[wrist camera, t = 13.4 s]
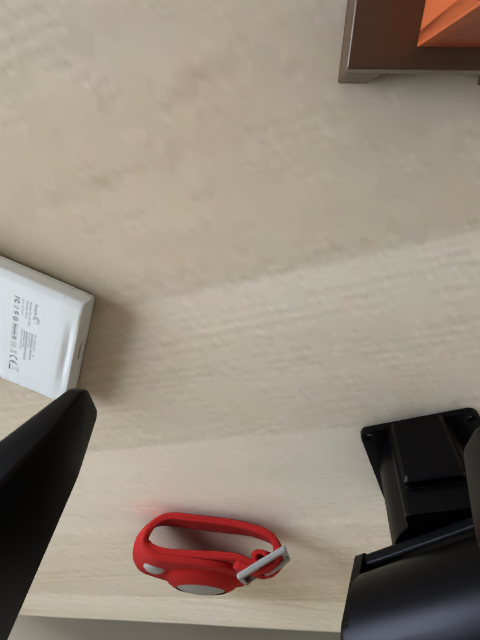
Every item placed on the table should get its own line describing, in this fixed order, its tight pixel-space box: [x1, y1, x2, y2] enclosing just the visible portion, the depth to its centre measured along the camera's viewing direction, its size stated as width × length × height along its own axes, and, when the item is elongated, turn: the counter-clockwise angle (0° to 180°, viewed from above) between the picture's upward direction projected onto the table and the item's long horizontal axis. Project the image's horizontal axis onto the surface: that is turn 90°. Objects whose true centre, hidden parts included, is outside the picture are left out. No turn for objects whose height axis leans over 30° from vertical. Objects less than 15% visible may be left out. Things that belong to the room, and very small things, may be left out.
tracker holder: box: [133, 513, 290, 595], centre depth 30 cm, size 12×4×10 cm
